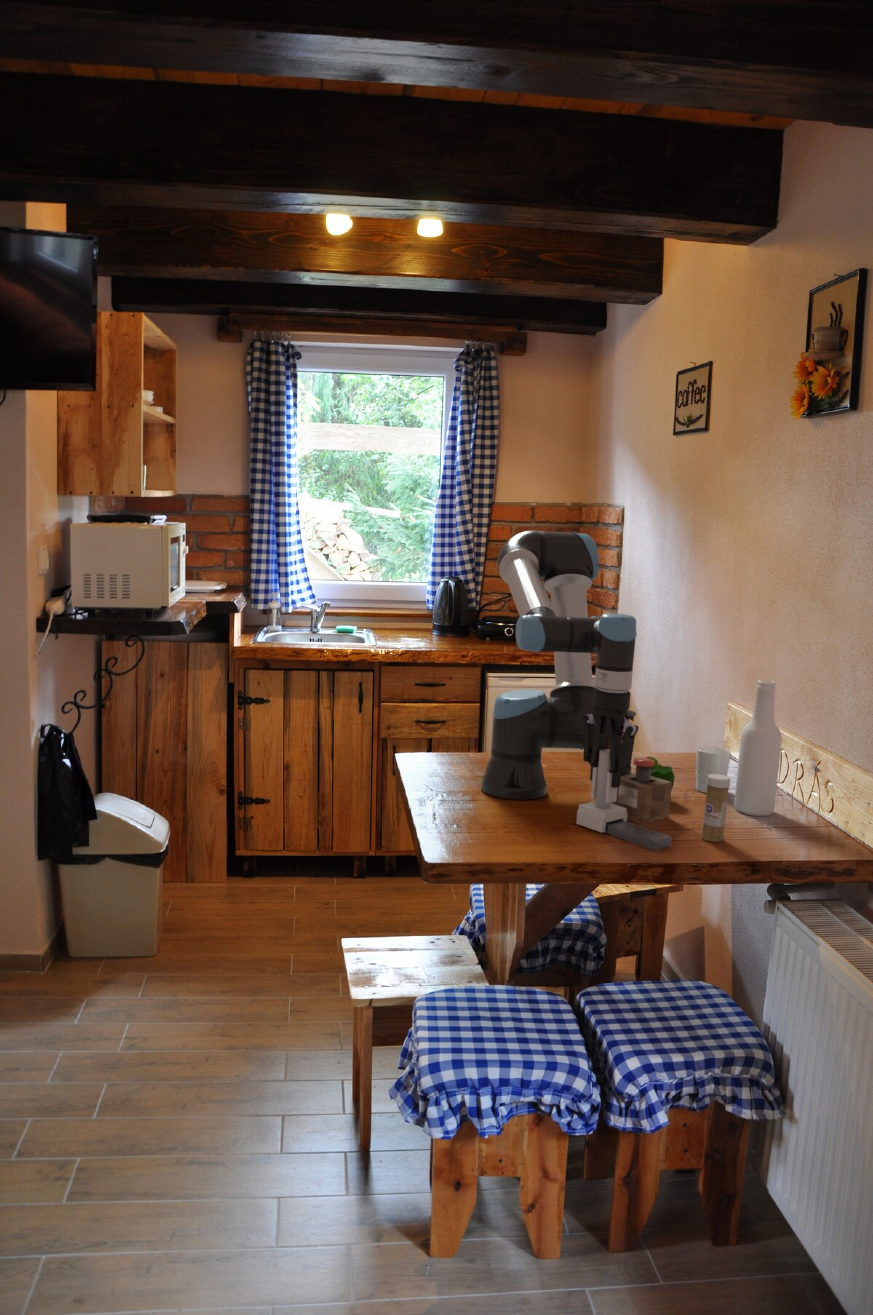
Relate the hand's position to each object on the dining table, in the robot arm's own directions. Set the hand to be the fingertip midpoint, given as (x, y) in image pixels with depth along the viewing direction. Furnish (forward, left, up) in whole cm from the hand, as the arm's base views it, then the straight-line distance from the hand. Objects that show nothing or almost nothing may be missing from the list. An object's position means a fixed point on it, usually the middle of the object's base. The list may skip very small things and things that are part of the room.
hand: (603, 799), depth 225 cm
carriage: (0, 0, -6) cm, 6 cm away
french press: (-25, +33, -6) cm, 42 cm away
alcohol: (+11, +40, -6) cm, 42 cm away
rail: (+6, 0, -6) cm, 9 cm away
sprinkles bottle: (+18, +14, -6) cm, 24 cm away
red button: (-1, +14, -2) cm, 14 cm away
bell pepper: (-7, +27, -6) cm, 29 cm away
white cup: (-5, +46, -6) cm, 47 cm away
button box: (-1, +14, -6) cm, 15 cm away
